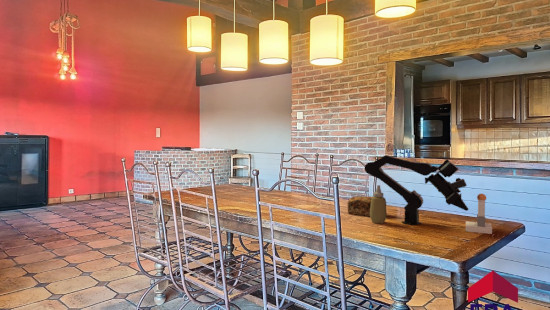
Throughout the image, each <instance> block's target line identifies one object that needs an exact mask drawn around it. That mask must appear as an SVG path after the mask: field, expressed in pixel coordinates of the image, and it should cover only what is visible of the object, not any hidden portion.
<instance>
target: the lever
mask: <svg viewBox="0 0 550 310" xmlns="http://www.w3.org/2000/svg"><path fill="white" fill-rule="evenodd" d="M476 199H477V214H478V217H485V218H486V213H485V212H486V200H487V195H485V194H484V193H479V194H477V197H476Z"/></svg>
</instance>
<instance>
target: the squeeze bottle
mask: <svg viewBox="0 0 550 310" xmlns="http://www.w3.org/2000/svg"><path fill="white" fill-rule="evenodd" d="M371 197H372V198H371V207H370V216H369V217H370V220H371V222H372V223H375V224H383V223H385V221H386V219H387V216H388V213H387V201H386V200H385V199H386V198H385V197H384V193H383V192H382V190H381V185H377V186H376V190H375V191H374V192H373V196H371Z"/></svg>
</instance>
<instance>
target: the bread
mask: <svg viewBox="0 0 550 310" xmlns="http://www.w3.org/2000/svg"><path fill="white" fill-rule="evenodd" d="M372 197H373V196H371V195H370V196H362V195H361V196H359V195H357V196H352V197H350V198H349V199H348V200H347V214H348V213H349V214H348V215H353V214H357V215H356V216H361V215H365V216H364V217H370V207H371V198H372ZM385 200H386V198H385Z"/></svg>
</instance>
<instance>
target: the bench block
mask: <svg viewBox="0 0 550 310" xmlns="http://www.w3.org/2000/svg"><path fill="white" fill-rule="evenodd" d="M465 232H469V233H479V234H489V235H490V234H491V235H492V234H493V225H492V223H490V222H489V223H488V222H486V216H485V217H478V213H477V214H476V221H467V220H465Z"/></svg>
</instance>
